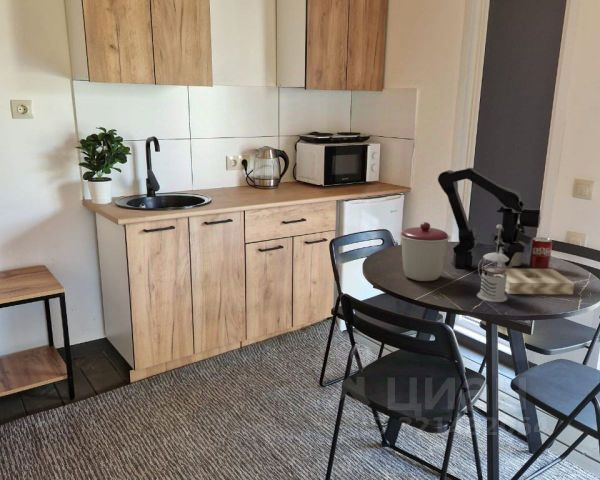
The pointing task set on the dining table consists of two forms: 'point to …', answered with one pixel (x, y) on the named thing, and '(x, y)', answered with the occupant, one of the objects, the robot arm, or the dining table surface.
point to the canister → (423, 252)
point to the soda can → (540, 253)
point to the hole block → (536, 282)
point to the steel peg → (502, 264)
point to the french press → (493, 277)
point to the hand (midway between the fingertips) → (504, 264)
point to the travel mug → (518, 256)
